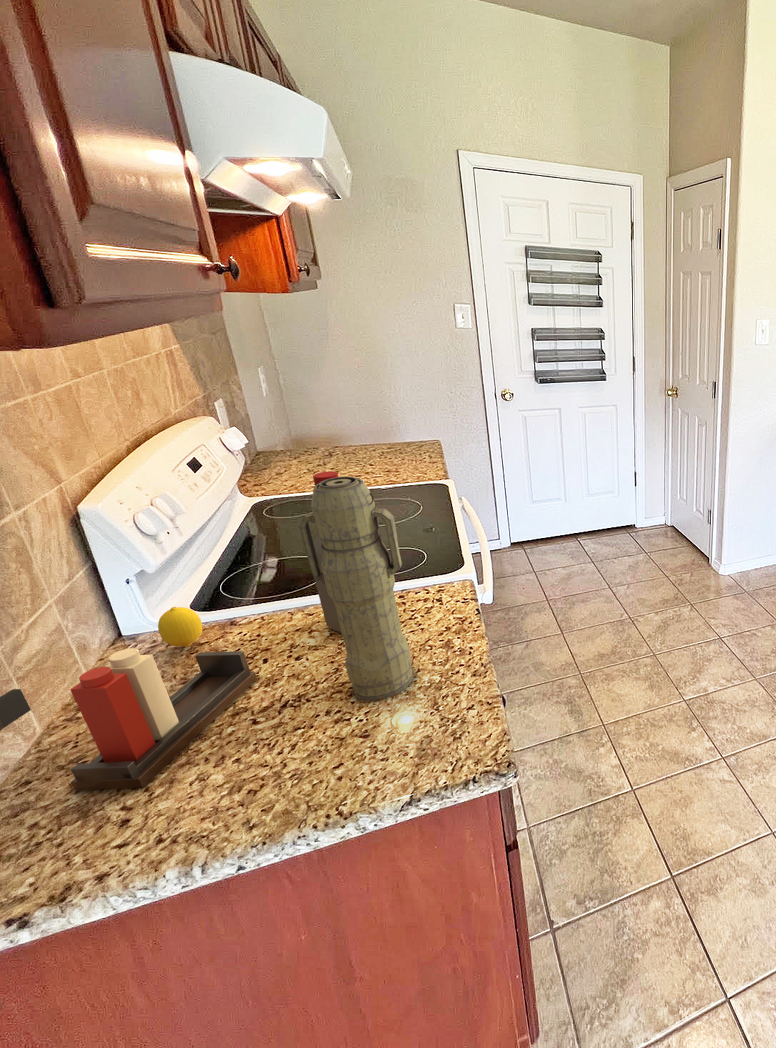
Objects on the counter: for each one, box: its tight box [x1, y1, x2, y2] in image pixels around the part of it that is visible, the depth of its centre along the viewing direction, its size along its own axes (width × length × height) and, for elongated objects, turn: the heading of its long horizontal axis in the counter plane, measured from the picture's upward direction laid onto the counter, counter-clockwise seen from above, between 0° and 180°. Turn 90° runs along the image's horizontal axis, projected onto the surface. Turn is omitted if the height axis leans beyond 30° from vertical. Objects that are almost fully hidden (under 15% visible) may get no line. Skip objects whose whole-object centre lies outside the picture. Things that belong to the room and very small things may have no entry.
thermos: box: [298, 476, 414, 701], centre depth 87 cm, size 9×12×35 cm
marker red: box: [70, 666, 156, 763], centre depth 74 cm, size 4×3×13 cm
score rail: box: [70, 650, 258, 791], centre depth 82 cm, size 8×22×6 cm, turn 5°
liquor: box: [312, 470, 342, 634], centre depth 105 cm, size 9×9×30 cm
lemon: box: [157, 606, 203, 648], centre depth 100 cm, size 6×6×8 cm
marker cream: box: [103, 647, 179, 740], centre depth 77 cm, size 4×3×13 cm
